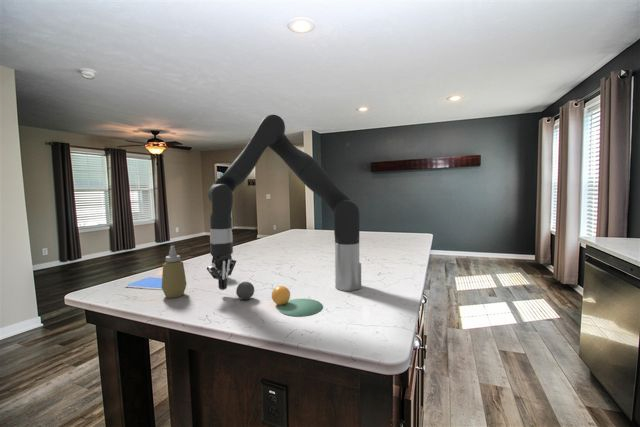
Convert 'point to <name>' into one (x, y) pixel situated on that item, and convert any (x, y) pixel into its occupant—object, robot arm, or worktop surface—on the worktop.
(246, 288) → the dark grey ball
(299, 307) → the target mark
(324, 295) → the worktop surface
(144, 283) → the tablet computer
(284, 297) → the object ball
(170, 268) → the squeeze bottle
